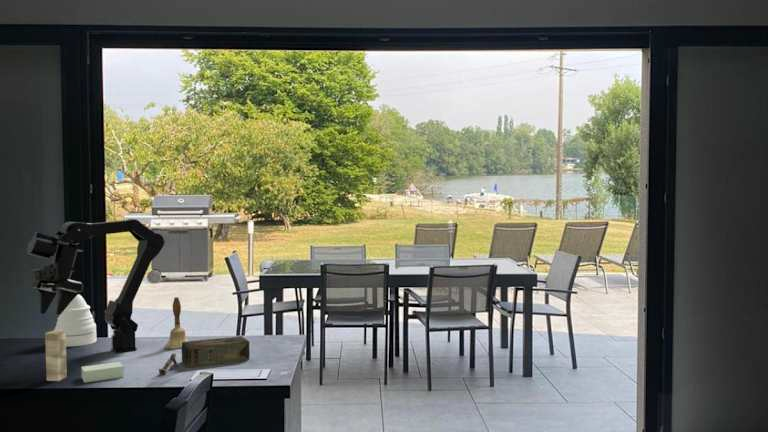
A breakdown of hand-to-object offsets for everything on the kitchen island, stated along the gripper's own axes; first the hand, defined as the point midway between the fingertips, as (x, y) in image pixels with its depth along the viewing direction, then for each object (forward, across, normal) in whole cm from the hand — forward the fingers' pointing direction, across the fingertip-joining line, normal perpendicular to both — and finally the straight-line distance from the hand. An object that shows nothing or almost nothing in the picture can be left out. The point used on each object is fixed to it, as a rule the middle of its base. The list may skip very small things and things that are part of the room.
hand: (50, 314), depth 205 cm
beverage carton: (+7, +35, +36) cm, 50 cm away
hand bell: (+3, +10, +39) cm, 41 cm away
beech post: (+18, +15, -1) cm, 23 cm away
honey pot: (+6, -23, +23) cm, 33 cm away
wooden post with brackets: (+12, +33, +21) cm, 41 cm away
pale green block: (+16, +24, +7) cm, 29 cm away
